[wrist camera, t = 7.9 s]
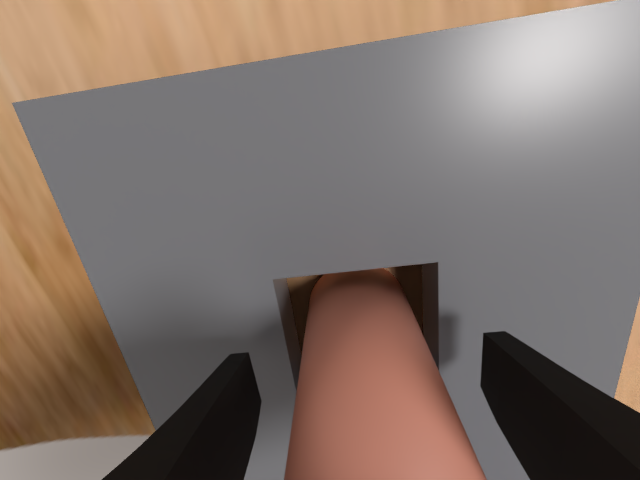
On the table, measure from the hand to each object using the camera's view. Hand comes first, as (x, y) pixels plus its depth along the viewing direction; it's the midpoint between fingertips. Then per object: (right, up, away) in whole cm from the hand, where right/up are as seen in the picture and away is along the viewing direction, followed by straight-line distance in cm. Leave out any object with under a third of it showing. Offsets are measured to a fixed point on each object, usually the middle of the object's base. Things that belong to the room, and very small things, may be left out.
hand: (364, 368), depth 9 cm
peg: (0, +1, +3) cm, 3 cm away
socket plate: (0, +1, +3) cm, 3 cm away
